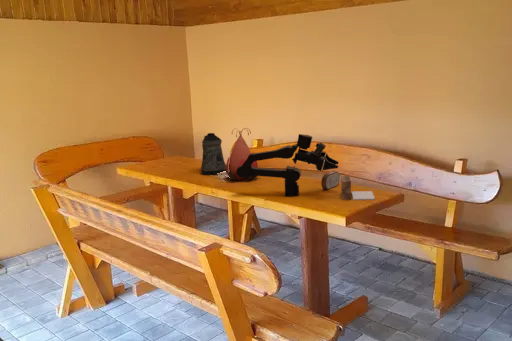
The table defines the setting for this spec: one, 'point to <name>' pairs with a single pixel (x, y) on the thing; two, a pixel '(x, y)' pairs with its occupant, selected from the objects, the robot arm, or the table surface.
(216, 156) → the beer stein
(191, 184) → the table surface
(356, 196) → the mat
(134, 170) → the table surface
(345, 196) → the walnut board
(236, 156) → the decorative flower
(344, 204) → the table surface
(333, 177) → the tin
